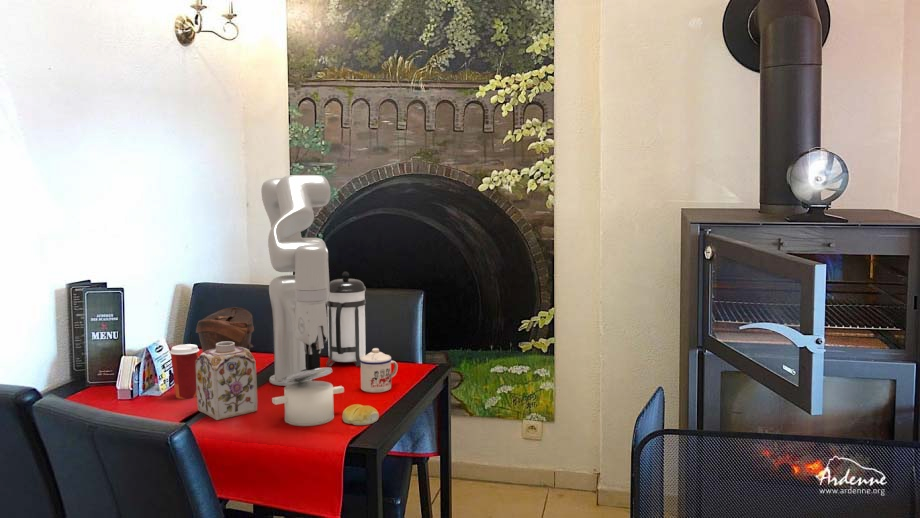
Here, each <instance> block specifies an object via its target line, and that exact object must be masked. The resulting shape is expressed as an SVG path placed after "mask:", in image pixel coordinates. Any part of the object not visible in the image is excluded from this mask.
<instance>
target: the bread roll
mask: <svg viewBox="0 0 920 518" xmlns="http://www.w3.org/2000/svg"><path fill="white" fill-rule="evenodd" d="M379 416H380V414H379V411H378V410H377V409H376V408H375V407H373V406H371V405H363V404H359V403H356V404H351V405H349V406H348V405H347V407H346V408H344V410H343V412H342V417H341V418H342V421H343V422H344V423H345V424H348V425H354V426H367V425H371V424H374V423H375V422H377V421H378V420H379V418H380V417H379Z"/></svg>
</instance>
